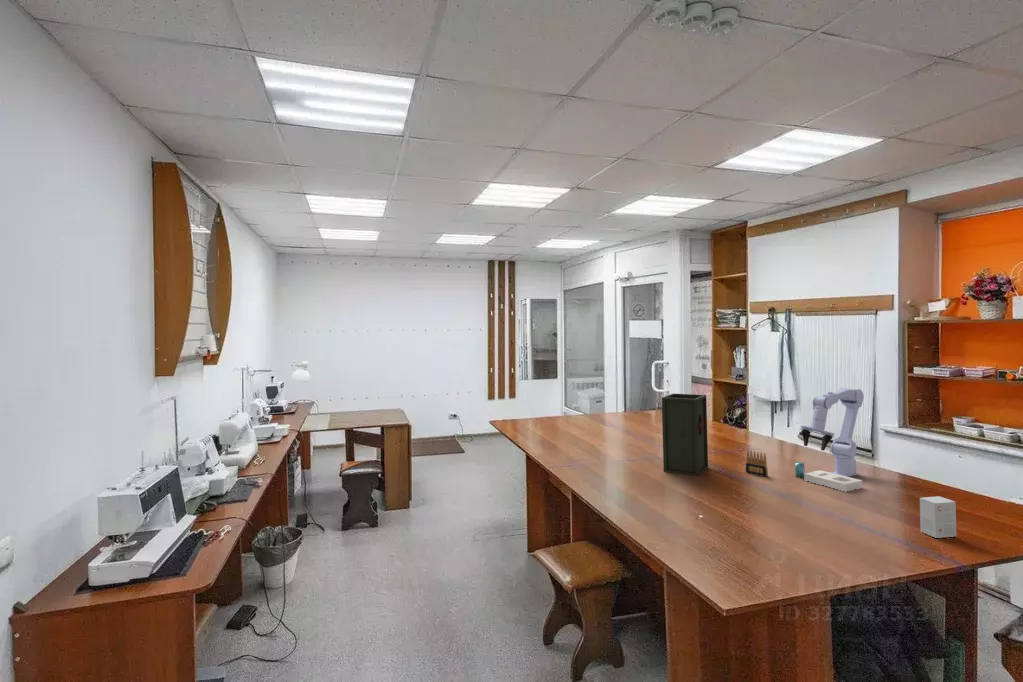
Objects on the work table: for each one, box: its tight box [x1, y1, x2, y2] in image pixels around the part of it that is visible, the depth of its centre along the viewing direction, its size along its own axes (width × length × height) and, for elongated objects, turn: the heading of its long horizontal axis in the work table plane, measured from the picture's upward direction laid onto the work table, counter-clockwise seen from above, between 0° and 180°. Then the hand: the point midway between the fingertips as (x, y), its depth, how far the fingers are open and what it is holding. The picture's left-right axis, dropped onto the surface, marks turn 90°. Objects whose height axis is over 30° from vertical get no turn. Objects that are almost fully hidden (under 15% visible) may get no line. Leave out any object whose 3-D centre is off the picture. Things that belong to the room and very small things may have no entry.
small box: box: [919, 495, 957, 538], centre depth 178 cm, size 8×6×13 cm
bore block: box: [803, 469, 863, 493], centre depth 238 cm, size 12×20×4 cm, turn 24°
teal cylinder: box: [794, 461, 806, 479], centre depth 251 cm, size 4×4×7 cm
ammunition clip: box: [745, 449, 769, 477], centre depth 258 cm, size 11×2×12 cm, turn 37°
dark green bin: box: [661, 393, 709, 477], centre depth 270 cm, size 18×18×40 cm
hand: (814, 448), depth 240 cm, fingers open, 7 cm apart
